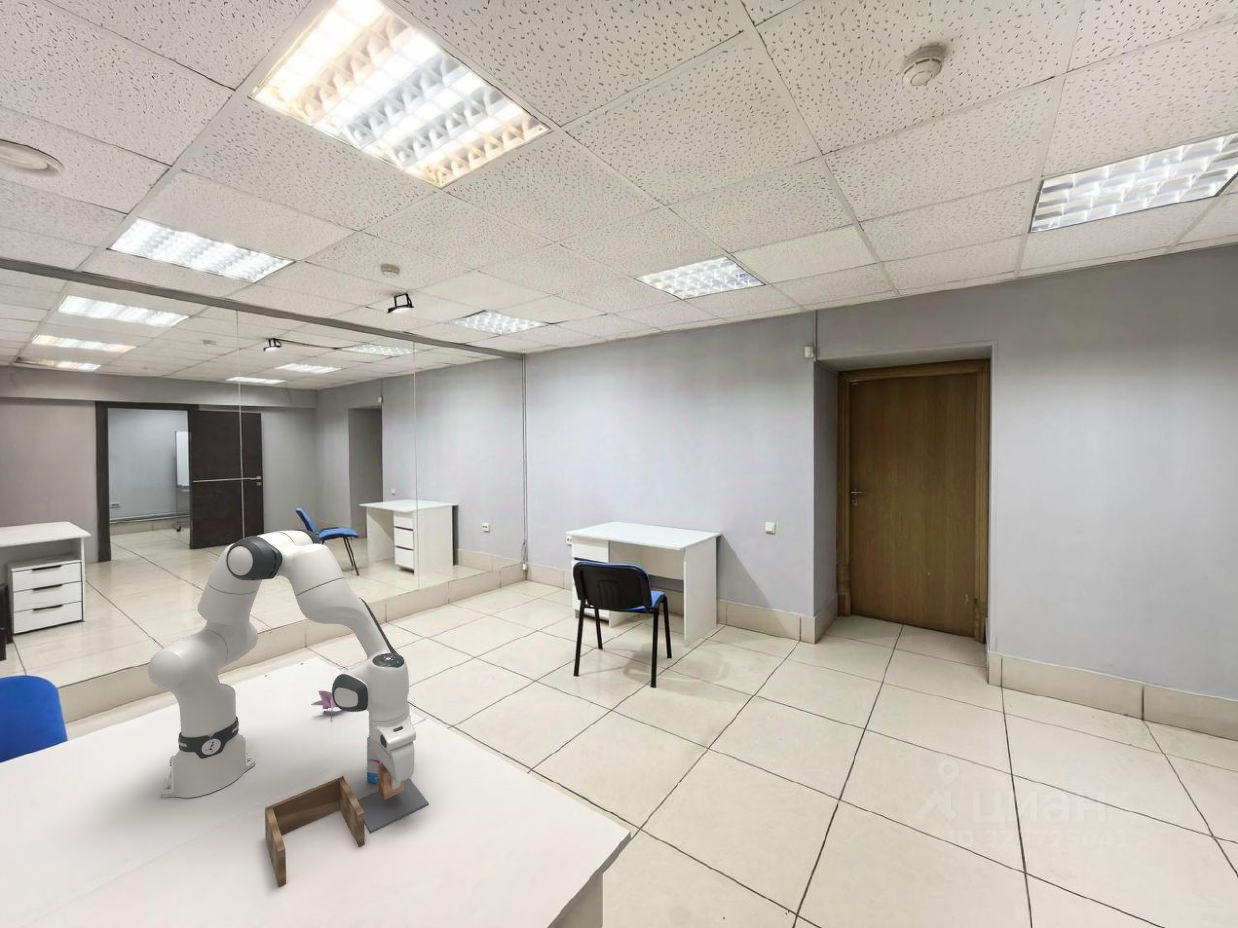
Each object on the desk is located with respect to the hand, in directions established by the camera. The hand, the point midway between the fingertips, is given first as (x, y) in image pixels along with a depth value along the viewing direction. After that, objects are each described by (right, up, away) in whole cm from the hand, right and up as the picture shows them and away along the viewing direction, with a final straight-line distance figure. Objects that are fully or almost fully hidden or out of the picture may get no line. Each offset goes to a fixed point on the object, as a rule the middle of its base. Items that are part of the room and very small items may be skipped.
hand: (390, 780), depth 118 cm
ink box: (-7, -6, +12) cm, 15 cm away
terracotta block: (0, -2, 0) cm, 2 cm away
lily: (-37, -6, +41) cm, 56 cm away
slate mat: (0, -6, 0) cm, 6 cm away
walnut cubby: (-11, -6, -12) cm, 17 cm away
